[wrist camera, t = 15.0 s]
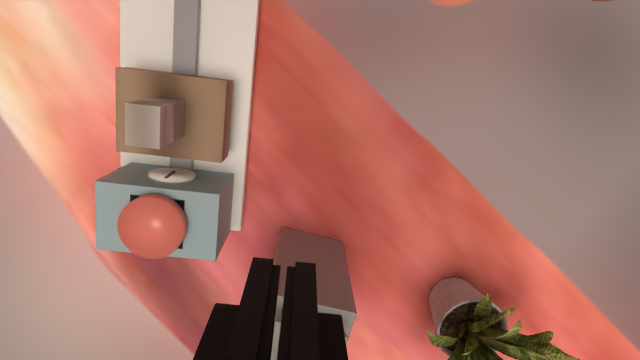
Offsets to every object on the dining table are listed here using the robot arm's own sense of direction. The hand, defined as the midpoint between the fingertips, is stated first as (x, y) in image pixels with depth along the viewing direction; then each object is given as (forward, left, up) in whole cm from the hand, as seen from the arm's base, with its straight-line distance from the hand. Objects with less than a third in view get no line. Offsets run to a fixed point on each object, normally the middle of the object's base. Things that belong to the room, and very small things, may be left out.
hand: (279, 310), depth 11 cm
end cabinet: (+11, +7, -30) cm, 32 cm away
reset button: (+11, +8, -24) cm, 28 cm away
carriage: (+11, -1, -28) cm, 30 cm away
